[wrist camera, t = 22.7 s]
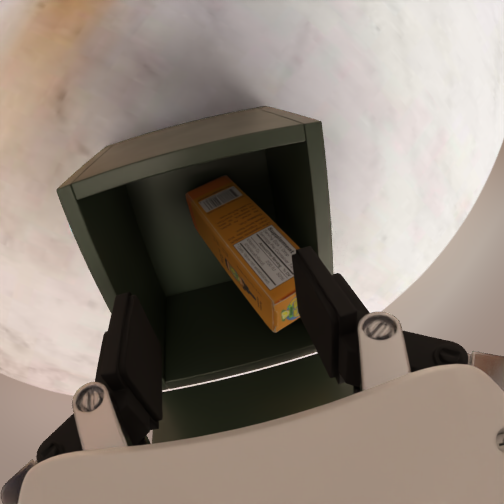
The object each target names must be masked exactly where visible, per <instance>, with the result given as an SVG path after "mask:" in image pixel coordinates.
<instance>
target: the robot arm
mask: <svg viewBox="0 0 504 504" xmlns="http://www.w3.org/2000/svg"><path fill="white" fill-rule="evenodd" d="M292 265H293V273H294V281H295V289H296V298H297V307H298V312H299V315H300V317H301V319H302V321H303V323H304V326H305V328H306V330H307V332H308V334H309V336H310V338H311V340H312V342H313V344H314V346H315V348H316V350H317V352H318V354H319V356H320V358H321V361H322V363H323V365H324V367H325V369H326V371H327V373H328V375H329V377H330V378H333V377H335V379H336V381H337V383H338V385H339V384H341V383H344V382H345V383H346V384H349V385H353V395H350V396H348V397H345V398H342V399H339V400H336V401H333V402H330V403H328V404H325V405H322V406H318V407H315V408H312V409H309V410H306V411H303V412H299V413H296V414H292V415H289V416H285V417H282V418H278V419H275V420H271V421H267V422H263V423H259V424H255V425H251V426H247V427H243V428H239V429H234V430H230V431H225V432H220V433H215V434H210V435H205V436H200V437H194V438H188V439H182V440H176V441H169V442H162V443H155V444H150V442H149V439H148V437H147V436H146V435H147V434H148V433H149V431H150V430H154V429H159V421H160V420H162V418H163V411H162V349H161V345H160V342H159V340H158V338H157V336H156V334H155V332H154V330H153V328H152V326H151V324H150V322H149V320H148V318H147V316H146V314H145V312H144V310H143V308H142V306H141V303H140V301H139V299H138V297H137V295H132V294H131V293H130V292H128V293H124V294H120V295H116V297H115V301H114V305H113V310H112V314H111V319H110V323H109V328H108V331H107V332H105V334H104V336H103V341H102V346H101V351H100V356H99V361H98V367H97V372H96V378H95V382H90V383H87V384H85V385H83V386H82V387H80V388H79V389H78V390H77V391H76V393H75V395H74V397H73V400H72V407H73V412H74V414H73V415H71V416H70V417H69V418H68V419H67V420H66V421H65V422H64V423H63V424H62V425H61V426H60V427H59V428H58V429H57V430H55V432H53V433H52V434H51V435H50V436H49V437H48V438H47V439H46V440H45V441H44V442H43V443H42V444H41V445H40V447H39V449H38V451H37V460H36V461H34V460H33V459H32V460H31V461H30V462H29V463H28V464H27V465H26V466H24V467H23V468H22V469H21V470H20V471H19V472H18V473H16V474H15V476H13V477H12V478H11V479H10V480H9V481H8V482H7V483H5V485H4V486H3V487H2V490H1V500H2V503H3V504H504V356H498V355H493V354H487V353H481V352H475V351H472V354H468V353H467V352H466V351H465V349H464V348H463V347H462V346H460V345H459V344H457V343H454V342H451V341H446V340H442V339H437V338H432V337H428V336H424V335H419V334H415V333H410V332H406V331H402V327H401V324H400V322H399V320H398V319H397V318H396V317H395V316H393V315H391V314H389V313H386V312H372V313H369V312H368V310H367V309H366V307H365V306H364V305H363V303H362V302H361V301H360V299H359V298H358V297H357V295H356V294H355V293H354V291H353V290H352V289H351V287H350V286H349V285H348V283H347V282H346V281H345V279H344V278H343V277H342V275H341V274H339V273H336V274H333V275H331V273H330V272H329V270H328V269H327V268H326V266H325V265H324V264H323V262H322V261H321V260H320V258H319V257H318V255H317V254H316V253H315V251H314V250H313V249H312V247H311V246H308V247H304V248H301V249H297V250H296V254H293V255H292Z"/></svg>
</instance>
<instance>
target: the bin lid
mask: <svg viewBox="0 0 504 504" xmlns="http://www.w3.org/2000/svg"><path fill="white" fill-rule="evenodd" d="M350 395H353V385H349V384H346V383H345V382H344V383H341V384H339V385H338V383H337V381H336V379H335V377H333V378H330V377H329V375H328V373H327V371H326V369H325V367H324V365H323V363H322V361H321V358H320V356H319V354H315V355H311V356H308V357H305V358H302V359H298V360H295V361H292V362H288V363H285V364H281V365H278V366H274V367H271V368H267V369H263V370H260V371H256V372H252V373H248V374H244V375H240V376H236V377H232V378H228V379H224V380H220V381H215V382H211V383H206V384H202V385H197V386H192V387H187V388H182V389H177V390H172V391H167V392H162V411H163V418H162V420H160V421H159V429H154V430H153V436H152V444H155V443H162V442H169V441H176V440H182V439H188V438H194V437H200V436H205V435H210V434H215V433H220V432H225V431H230V430H234V429H239V428H243V427H247V426H251V425H255V424H259V423H263V422H267V421H271V420H275V419H278V418H282V417H285V416H289V415H292V414H296V413H299V412H303V411H306V410H309V409H312V408H315V407H318V406H322V405H325V404H328V403H330V402H333V401H336V400H339V399H342V398H345V397H348V396H350Z"/></svg>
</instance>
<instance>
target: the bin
mask: <svg viewBox="0 0 504 504" xmlns="http://www.w3.org/2000/svg"><path fill="white" fill-rule="evenodd" d="M224 175H227V176H228V177H229V178H230V179H231V180H232V181H233V182H234V183H235V184H236V185H237V186H238V187H239V188H240V189H241V190H242V191H243V192H244V193H245V194H246V195H247V196H249V197H250V199H252V200H253V201H254V202H255V203H256V204H257V205H258V206H259V207H260V208H261V209H262V210H263V211H264V212H265V213H266V214H267V215H268V216H269V217H270V218H271V219H272V220H273V221H274V222H275V223H276V224H277V225H278V226H279V227H280V228H281V229H282V230H283V231H284V232H285V233H286V234H287V235H288V236H289V237H290V238H291V239H292V240H293V241H294V242H295V243H296V244H297V245H298V246H299V247H300V248H304V247H308V246H311V247H312V249H313V250H314V251H315V253H316V254H317V255H318V257H319V258H320V260H321V261H322V262H323V264H324V265H325V266H326V268H327V269H328V270H329V272H330V273H331V275H333V254H332V235H331V218H330V204H329V191H328V179H327V168H326V158H325V148H324V139H323V131H322V122H321V121H318V120H315V119H312V118H308V117H305V116H302V115H298V114H294V113H291V112H287V111H283V110H280V109H276V108H272V107H267V106H263V107H257V108H252V109H247V110H241V111H236V112H231V113H226V114H222V115H217V116H213V117H208V118H204V119H200V120H195V121H191V122H187V123H183V124H179V125H176V126H172V127H168V128H164V129H161V130H157V131H154V132H150V133H147V134H143V135H140V136H137V137H134V138H130V139H127V140H124V141H121V142H118V143H115V144H112V145H109V146H106V147H105V148H103V149H102V150H101V151H100V152H99V153H97V154H96V155H95V156H94V157H93V158H91V159H90V160H89V161H88V162H87V163H85V164H84V165H83V166H82V167H81V168H80V169H79V170H77V171H76V172H75V173H74V174H73V175H72V176H71V177H70V178H68V179H67V180H66V181H65V182H64V183H63V184H62V185H61V186H60V187H59V188H58V189H57V194H58V196H59V199H60V202H61V204H62V207H63V210H64V212H65V215H66V217H67V220H68V222H69V225H70V227H71V229H72V232H73V234H74V237H75V239H76V241H77V244H78V246H79V248H80V250H81V253H82V255H83V257H84V259H85V261H86V264H87V266H88V268H89V270H90V272H91V274H92V276H93V278H94V280H95V282H96V284H97V286H98V288H99V290H100V292H101V294H102V296H103V298H104V300H105V302H106V304H107V306H108V308H109V310H110V312H111V314H112V310H113V305H114V301H115V297H116V295H120V294H124V293H128V292H130V293H131V294H132V295H137V297H138V299H139V301H140V303H141V306H142V308H143V310H144V312H145V314H146V316H147V318H148V320H149V322H150V324H151V326H152V328H153V330H154V332H155V334H156V336H157V338H158V340H159V342H160V345H161V349H162V390H166V389H172V388H177V387H182V386H187V385H192V384H197V383H201V382H206V381H211V380H215V379H219V378H224V377H228V376H232V375H236V374H240V373H244V372H248V371H252V370H256V369H259V368H263V367H267V366H271V365H274V364H278V363H281V362H285V361H288V360H292V359H295V358H298V357H302V356H305V355H308V354H311V353H314V352H317V350H316V348H315V346H314V344H313V342H312V340H311V338H310V336H309V334H308V332H307V330H306V328H305V326H304V323H303V321H302V319H301V317H300V318H298V319H297V320H295V321H294V322H292V323H290V324H289V325H287V326H286V327H284V328H283V329H281V330H279V331H278V332H277V333H274V332H273V331H272V330H271V329H270V328H269V327H268V326H267V324H266V323H265V322H264V321H263V319H262V318H261V317H260V316H259V314H258V313H257V312H256V310H255V309H254V308H253V306H252V305H251V304H250V303H249V301H248V300H247V299H246V297H245V296H244V295H243V293H242V292H241V291H240V289H239V288H238V287H237V285H236V284H235V283H234V281H233V280H232V279H231V277H230V276H229V275H228V273H227V272H226V271H225V269H224V268H223V266H222V265H221V264H220V262H219V261H218V259H217V258H216V257H215V255H214V254H213V253H212V251H211V250H210V248H209V247H208V246H207V244H206V243H205V241H204V240H203V239H202V237H201V236H200V234H199V233H198V231H197V230H196V228H195V226H194V223H193V220H192V217H191V214H190V211H189V207H188V204H187V200H186V196H185V194H186V193H187V192H189V191H191V190H193V189H195V188H197V187H199V186H201V185H203V184H206V183H208V182H210V181H212V180H214V179H217V178H219V177H221V176H224Z"/></svg>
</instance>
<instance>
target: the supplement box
mask: <svg viewBox="0 0 504 504" xmlns="http://www.w3.org/2000/svg"><path fill="white" fill-rule="evenodd" d="M185 196H186V200H187V204H188V207H189V211H190V214H191V217H192V220H193V223H194V226H195V228H196V230H197V231H198V233H199V234H200V236H201V237H202V239H203V240H204V241H205V243H206V244H207V246H208V247H209V248H210V250H211V251H212V253H213V254H214V255H215V257H216V258H217V259H218V261H219V262H220V264H221V265H222V266H223V268H224V269H225V271H226V272H227V273H228V275H229V276H230V277H231V279H232V280H233V281H234V283H235V284H236V285H237V287H238V288H239V289H240V291H241V292H242V293H243V295H244V296H245V297H246V299H247V300H248V301H249V303H250V304H251V305H252V306H253V308H254V309H255V310H256V312H257V313H258V314H259V316H260V317H261V318H262V319H263V321H264V322H265V323H266V324H267V326H268V327H269V328H270V329H271V330H272V331H273V332H274V333H277V332H278V331H279V330H281V329H283V328H284V327H286V326H287V325H289V324H290V323H292V322H294V321H295V320H297V319H298V318H300V315H299V312H298V307H297V298H296V289H295V281H294V273H293V265H292V255H293V254H296V250H297V249H301V248H300V247H299V246H298V245H297V244H296V243H295V242H294V241H293V240H292V239H291V238H290V237H289V236H288V235H287V234H286V233H285V232H284V231H283V230H282V229H281V228H280V227H279V226H278V225H277V224H276V223H275V222H274V221H273V220H272V219H271V218H270V217H269V216H268V215H267V214H266V213H265V212H264V211H263V210H262V209H261V208H260V207H259V206H258V205H257V204H256V203H255V202H254V201H253V200H252V199H250V197H249V196H247V195H246V194H245V193H244V192H243V191H242V190H241V189H240V188H239V187H238V186H237V185H236V184H235V183H234V182H233V181H232V180H231V179H230V178H229V177H228V176H227V175H224V176H221V177H219V178H217V179H214V180H212V181H210V182H208V183H206V184H203V185H201V186H199V187H197V188H195V189H193V190H191V191H189V192H187V193H186V194H185Z"/></svg>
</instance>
